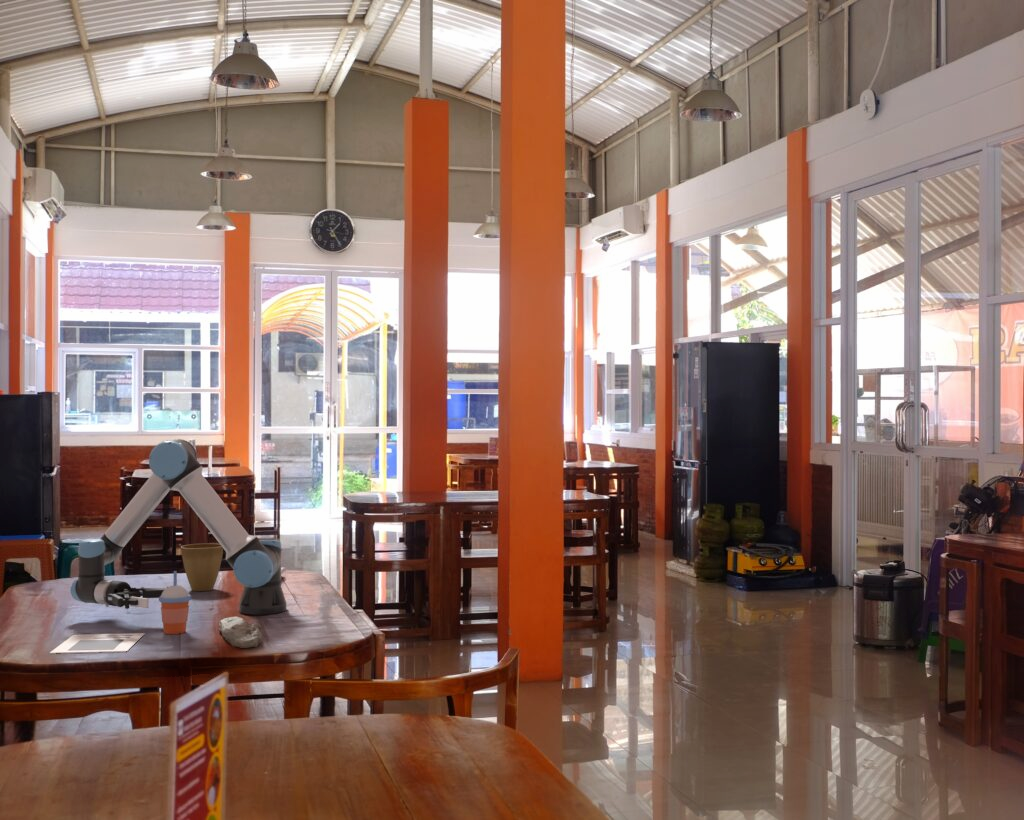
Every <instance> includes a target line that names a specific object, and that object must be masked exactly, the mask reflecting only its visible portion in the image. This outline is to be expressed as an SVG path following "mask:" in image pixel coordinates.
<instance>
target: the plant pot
mask: <svg viewBox="0 0 1024 820" xmlns="http://www.w3.org/2000/svg"><path fill="white" fill-rule="evenodd" d="M180 551H181V558H182V563H183V567H184V571H185V575H186V578H187V581H188V584H189V586H190V589H191V591H193V592H208V591H212V590H213V589H214V587H215V584H216V582H217V579H218V575H219V572H220V568H221V563H222V559H223V554H224V548H223V547H222V546H221V545H220V543H192V544H185V545H180Z"/></svg>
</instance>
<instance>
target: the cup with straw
mask: <svg viewBox="0 0 1024 820" xmlns="http://www.w3.org/2000/svg"><path fill="white" fill-rule="evenodd" d="M177 576H178V572H177V570H173V584H172V585H169V586H167V587H168V588H167V587H165V588H166V589H165V590H164V591H163V593H162V595H161V596H160V597H159V598H158V602H160V603H161V607H160V611H161V613H160V614H161V622H162V625H163V627H162V628H163V633H164V634H167V635H180V634H184V633H186V632H187V631H186V630H187V622H188V621H189V620H188V619H189V610H190V605H189V601H191V599H192V595H191V594H189V591H188V590H187V589H186V588H185V587H184V586H182V585H178V584H177V582H178V581H177V580H178V579H177V578H178V577H177ZM179 633H180V634H179Z"/></svg>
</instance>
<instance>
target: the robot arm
mask: <svg viewBox="0 0 1024 820" xmlns="http://www.w3.org/2000/svg"><path fill="white" fill-rule="evenodd" d="M148 465H149V468H150V471H151V472H152V474H151V475H150V476H149V478H148V479H147V480H146V481H145V482H144V484H143V485H142V486H141V487H140V489H139V490H138V491H137V492H136V493H135V495H134V496H133V497H132V498H131V500H130V501H129V502H128V503H127V505H126V506H125V507H124V509H123V510H121V512H120V514H119V515H118V516H117V517H116V518H115V520H114V521H113V522H112V524H111V525H110V526H109V527H108V528H107V529H106V531H105V532H104V533H103V535H102V536H101V537H100V538H87V539H82V540H80V541H79V543H78V550H77V554H78V576H77V578H75V580H73V581H72V584H71V586H70V589H69V590H70V596H71V597H72V598H73V599H74V600H75V601H77V602H82V603H85V604H86V603H87V604H94V605H95V604H98V605H105V607H106V608H108V607H109V606H112V607H118V608H122V607H124V609H125V610H126V609H127V610H128V609H130V607H133V608H134V607H135V608H139V609H140V608H141V609H142V608H143V609H149V604H150V603H149V599H159V597H160V596H161V595H162V593H163V591H164V590H165V589H166V588H168V587H169V586H166V587H145V586H142V587H138V588H137V587H131V585H130V584H129V583H128V582H126V581H119V580H113V579H112V580H111V579H105V574H106V573H105V570H106V569H105V566H106V565H108V564H112V563H114V562H115V561H116V560H117V559H118V558H119V556H120V554H121V552H122V550H123V549H124V547H126V545H127V544H128V543H129V542H130V541H131V539H132V538H133V536H134V535H135V534H136V533H137V531H138V530H139V529H140V528H141V527H142V526H143V524H144V523H145V521H147V519H148V518H149V517H150V516H151V514H152V513H153V512H154V510H156V508H157V507H158V506H159V504H160V503H161V502H162V501H163V500H164V498H165V497H166V496H167V494H168V493H169V492H170V491H176V492H179V493H180V495H181V496H182V497H183V499H184V500H185V501H186V502H187V503H188V505H189V507H190V508H191V509H192V511H194V513H195V514H196V516H198V518H199V519H200V520H201V521H202V523H203V525H205V527H206V528H207V529H208V531H209V532H210V533H211V535H212V536H213V537H214V538H215V539H216V541H217V542H218V544H220V545H221V546H222V547H223V551H225V561H227V563H228V564H229V566H230V567H231V569H233V571H232V572H233V575H234V578H235V579H236V580H237V582H238V583H239V584H241V585H242V586H244V587H243V591H242V594H241V597H240V600H239V603H238V612H239V613H241V614H244V615H255V616H256V615H257V616H260V615H273V614H279V613H284V612H285V611H287V600H286V597H285V595H284V591H283V587H282V551H283V548H282V543H281V541H280V540H278V539H267V540H266V539H265V540H263V539H259V538H258V537H257V535H252V534H249V533H248V531H246V528H244V527H243V526H242V524H241V522H239V520H238V519H237V518H236V516H235V515H234V514H233V512H232V511H231V510H230V509H229V507H228V506H227V505H226V503H225V502H224V501H223V500H222V498H221V497H220V496H219V494H218V493H217V492H216V491H215V489H214V488H213V487H212V486H211V484H210V483H209V482H208V480H207V479H206V478H205V477H204V476H203V466H202V465H201V463H200V462H199V461H198V452H197V450H196V448H195V446H194V445H193V444H192V443H191V442H189V441H188V440H185V439H181V438H177V439H176V438H175V439H166V440H162V441H161V442H159V443H158V444H157V445H155V446H154V447H153V448H152V449H151V452H150V454H149V457H148Z"/></svg>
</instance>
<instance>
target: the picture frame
mask: <svg viewBox="0 0 1024 820" xmlns="http://www.w3.org/2000/svg"><path fill="white" fill-rule="evenodd" d="M144 634H145V635H146V632H142V633H141V632H138V633H137V632H135V633H133V632H132V633H131V632H130V633H94V634H93V633H92V634H91V633H90V634H73V635H70V637H69V638H68V639H66V640H65V641H63V642H62V643H60V645H58V646H56V647H55V648H54V649H53V650H51V651H50V652H49V654H51V655H53V654H54V655H56V653H61V654H89V653H90V654H95V653H98V654H99V652H102V653H127V652H129V651H130V650H131V649H132V648H133V647H134V646H135V645H136V644H137V643H138V642H139V641H140V640H141V639H142V638H143V637H144V636H145V635H144ZM143 635H144V636H143ZM142 636H143V637H142ZM141 637H142V638H141ZM140 638H141V639H140ZM139 639H140V640H139ZM138 640H139V641H138ZM137 641H138V642H137ZM136 642H137V643H136ZM135 643H136V644H135ZM134 644H135V645H134ZM133 645H134V646H133ZM132 646H133V647H132ZM131 647H132V648H131ZM130 648H131V649H130ZM129 649H130V650H129ZM126 651H127V652H126Z"/></svg>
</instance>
